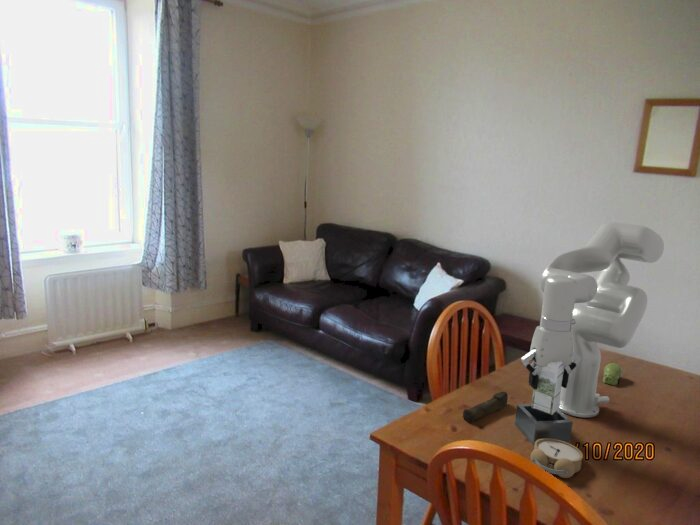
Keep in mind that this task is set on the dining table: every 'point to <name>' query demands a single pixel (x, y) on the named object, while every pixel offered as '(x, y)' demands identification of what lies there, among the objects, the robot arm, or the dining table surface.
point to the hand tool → (485, 407)
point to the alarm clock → (557, 457)
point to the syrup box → (548, 388)
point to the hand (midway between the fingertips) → (547, 386)
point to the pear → (612, 373)
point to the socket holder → (542, 424)
